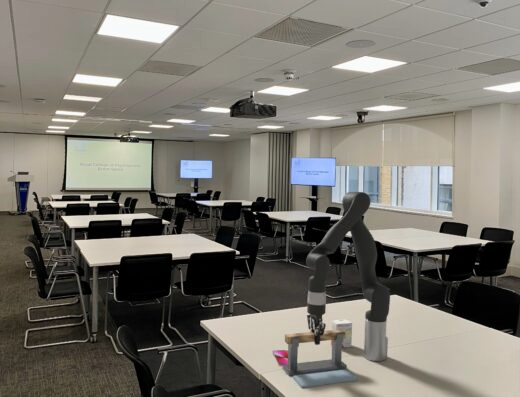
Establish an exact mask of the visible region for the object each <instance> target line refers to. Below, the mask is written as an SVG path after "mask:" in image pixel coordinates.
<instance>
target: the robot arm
mask: <svg viewBox="0 0 520 397" xmlns="http://www.w3.org/2000/svg"><path fill="white" fill-rule="evenodd" d="M341 204H342V209H343V211H344V215H343V217H342V218H341V219H340V220H338V221H337V222H336V223H334V224H333V225H332V226H331V228H329V229H328V230H327V232H326V233H325V235H324V237H323V238H322V240H321V242H320V243H318V244H317V245H316V246H315V247H314V248H313V249H311V250H310V252H309V253H308V255H307V257H306V260H305V264H306V267H307V268H308V269H309V270H314V274H313V275H312V276H309V279H308V292H307V308H306V309H307V310H306V312H307V313H308V314H307V315H306V317H307V318H306V319H307V326H308V330H309V332H315V342H313V344H314V345H315V346H318V345H321V341H320V336H323V334H324V331H326V327H327V324H326V323H324V322H323V315H325V314H326V312H327V311H326V310H327V309H326V308H327V307H326V306H327V304H326V301H327V296H326V294H327V293H326V288H327V286H326V285H327V284H326V283H327V279H328V276H329V272H330V268H331V263H330V258H329V257H328V256H327V255H331V254H335V252H336V251H337V249H338V247H339V246H340V245H341V243H342V242H343V240H344V238H345V237H346V236H347V234H348V233H349V232H350V235H351V238H352V243H353V248H354V253H355V257H356V260H357V265H358V266H357V267H358V270H359V275H360V280H361V288H362V290H361V291H362V295H363V298H364V299H365V300H366V301H367V302H369V303H370V309H369V310H367V311H365V316H364V317H365V318H364V319H365V320H364V342H363V344H364V345H363V357H364V358H365V359H366V360H370V361H372V362H381V361H382V362H383V361H385V360H387V359H388V345H389V337H388V336H387V319H388V316H389V314H390V304H391V303H390V302H391V293H390V290H389V288H388V287H387V286H386V285H384V284H381V283H379V281H378V279H377V273H376V263H377V259H378V251H377V246H376V242H375V239H374V236H373V235H372V233H371V232H370V230H369V229H368V227H367V226H366V224H365V222H364V220H363V216H364V215H365V214H366V213H367V211H368V210H369V209H370V206H371V198H370V195H369V194H368V193H366V192H363V191H348V192H345V194H343V197H342V203H341Z"/></svg>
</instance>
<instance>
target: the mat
mask: <svg viewBox="0 0 520 397" xmlns="http://www.w3.org/2000/svg"><path fill="white" fill-rule="evenodd" d="M292 378H293V380H294V381H295V382H296V384H298V386H299V387H300V388H309V387H317V386H324V385H332V384H333V385H334V384H340V383H348V382H355V381H356V382H357V381H358V380H359V378H358V377H357V376H356V375H354V374H353V372H351V371H350V370H348V368H347V369H340V370H332V371H324V372H315V373H307V374H298V375H292Z"/></svg>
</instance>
